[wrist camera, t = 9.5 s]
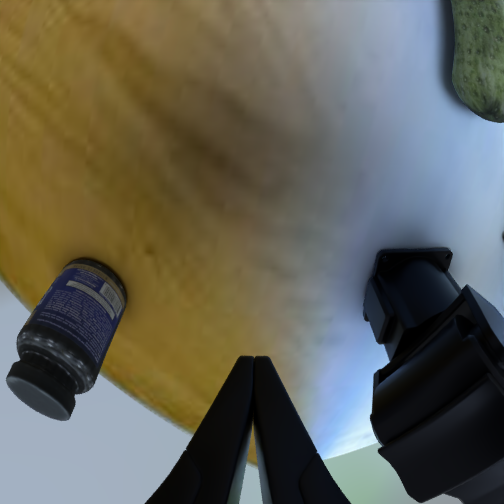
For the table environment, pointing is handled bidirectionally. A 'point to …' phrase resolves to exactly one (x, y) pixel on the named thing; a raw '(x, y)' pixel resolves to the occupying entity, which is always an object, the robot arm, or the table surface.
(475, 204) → the table surface
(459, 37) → the vegetable
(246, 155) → the table surface
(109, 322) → the pill bottle
